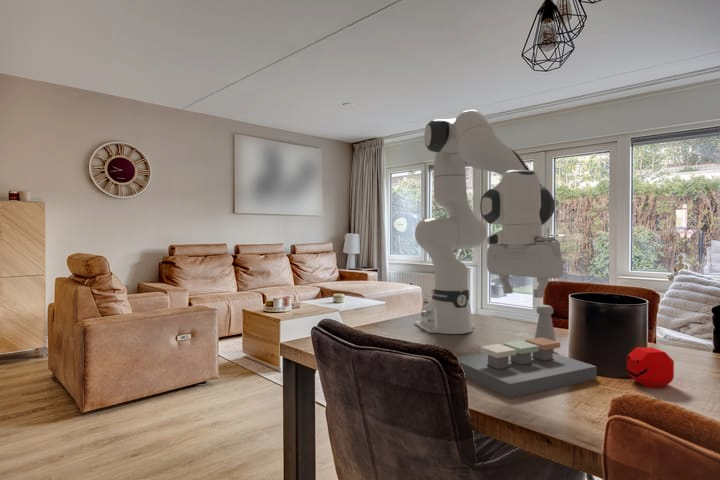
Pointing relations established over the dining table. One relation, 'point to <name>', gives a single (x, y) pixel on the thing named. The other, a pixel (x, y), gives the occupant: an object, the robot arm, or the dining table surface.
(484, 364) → the panel
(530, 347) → the sage button
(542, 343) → the terracotta button
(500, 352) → the cream button
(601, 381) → the dining table surface
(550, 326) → the salt shaker
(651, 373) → the ball
